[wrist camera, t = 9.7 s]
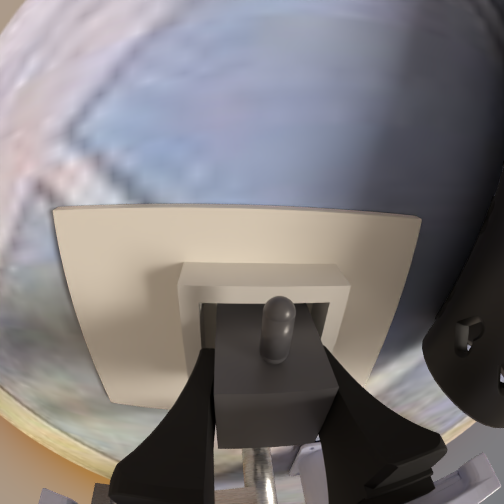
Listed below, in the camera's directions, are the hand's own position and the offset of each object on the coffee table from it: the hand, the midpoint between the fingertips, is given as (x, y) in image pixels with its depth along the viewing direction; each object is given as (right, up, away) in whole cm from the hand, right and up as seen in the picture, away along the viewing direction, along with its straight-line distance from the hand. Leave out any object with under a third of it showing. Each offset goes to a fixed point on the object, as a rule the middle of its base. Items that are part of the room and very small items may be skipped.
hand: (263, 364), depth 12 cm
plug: (0, +2, +2) cm, 3 cm away
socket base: (-1, +1, +3) cm, 4 cm away
